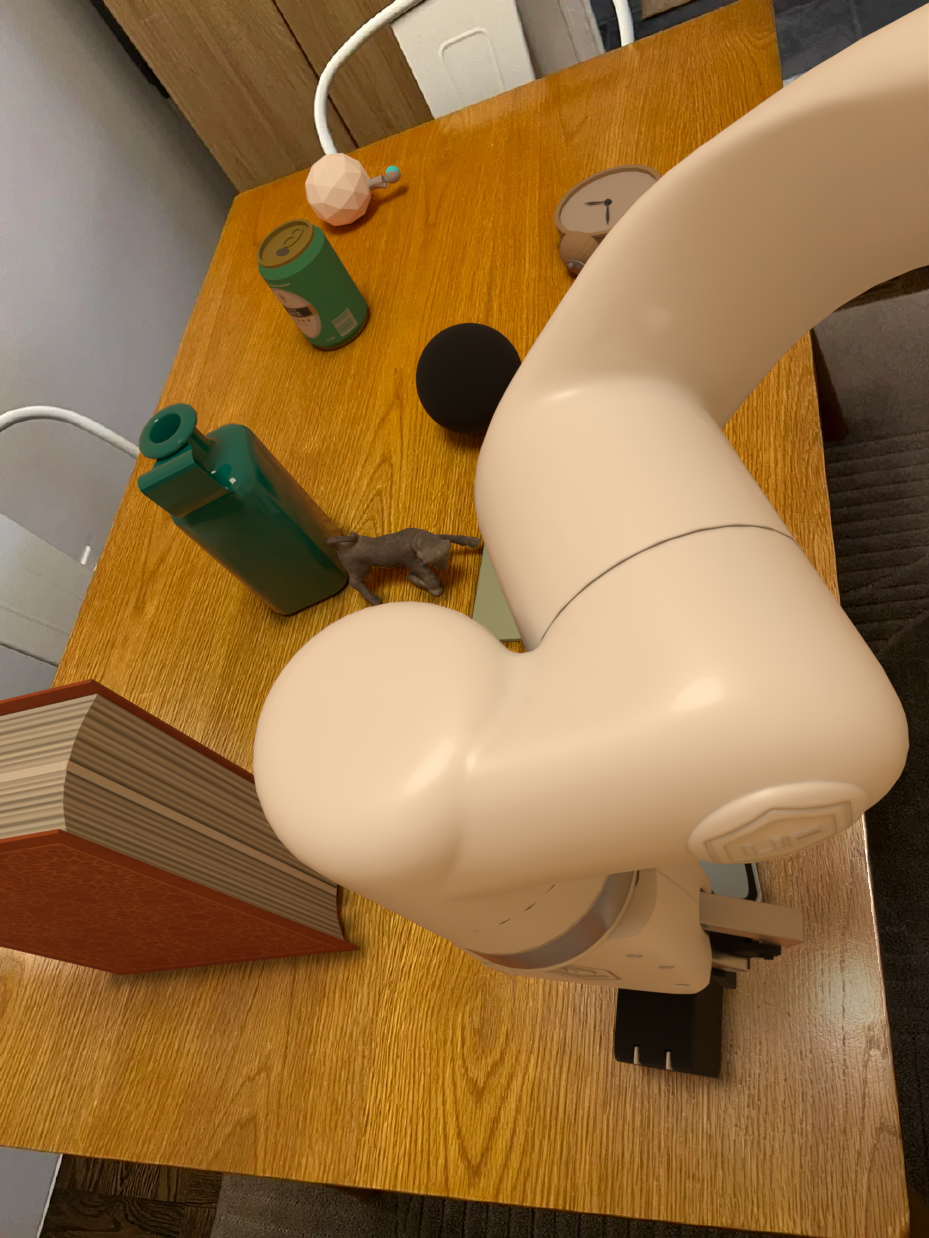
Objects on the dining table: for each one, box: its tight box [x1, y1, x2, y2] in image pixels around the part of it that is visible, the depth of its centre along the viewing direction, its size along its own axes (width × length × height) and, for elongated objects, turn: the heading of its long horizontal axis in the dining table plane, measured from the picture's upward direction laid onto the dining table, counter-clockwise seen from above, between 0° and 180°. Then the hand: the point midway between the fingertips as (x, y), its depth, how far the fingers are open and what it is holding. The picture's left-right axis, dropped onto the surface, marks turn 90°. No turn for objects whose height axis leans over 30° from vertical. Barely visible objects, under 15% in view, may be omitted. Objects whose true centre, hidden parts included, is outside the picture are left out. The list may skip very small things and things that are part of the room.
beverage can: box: [255, 218, 369, 350], centre depth 99 cm, size 8×8×12 cm
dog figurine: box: [327, 527, 481, 606], centre depth 78 cm, size 12×6×7 cm, turn 81°
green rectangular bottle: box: [137, 402, 350, 616], centre depth 78 cm, size 10×8×22 cm
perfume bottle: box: [304, 152, 402, 227], centre depth 111 cm, size 8×8×12 cm
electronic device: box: [613, 890, 724, 1079], centre depth 53 cm, size 4×10×10 cm, turn 170°
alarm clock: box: [553, 163, 662, 276], centre depth 91 cm, size 11×5×15 cm
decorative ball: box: [415, 322, 522, 436], centre depth 84 cm, size 10×10×10 cm
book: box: [0, 678, 360, 976], centre depth 60 cm, size 23×8×30 cm, turn 91°
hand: (630, 944), depth 45 cm, fingers open, 9 cm apart
